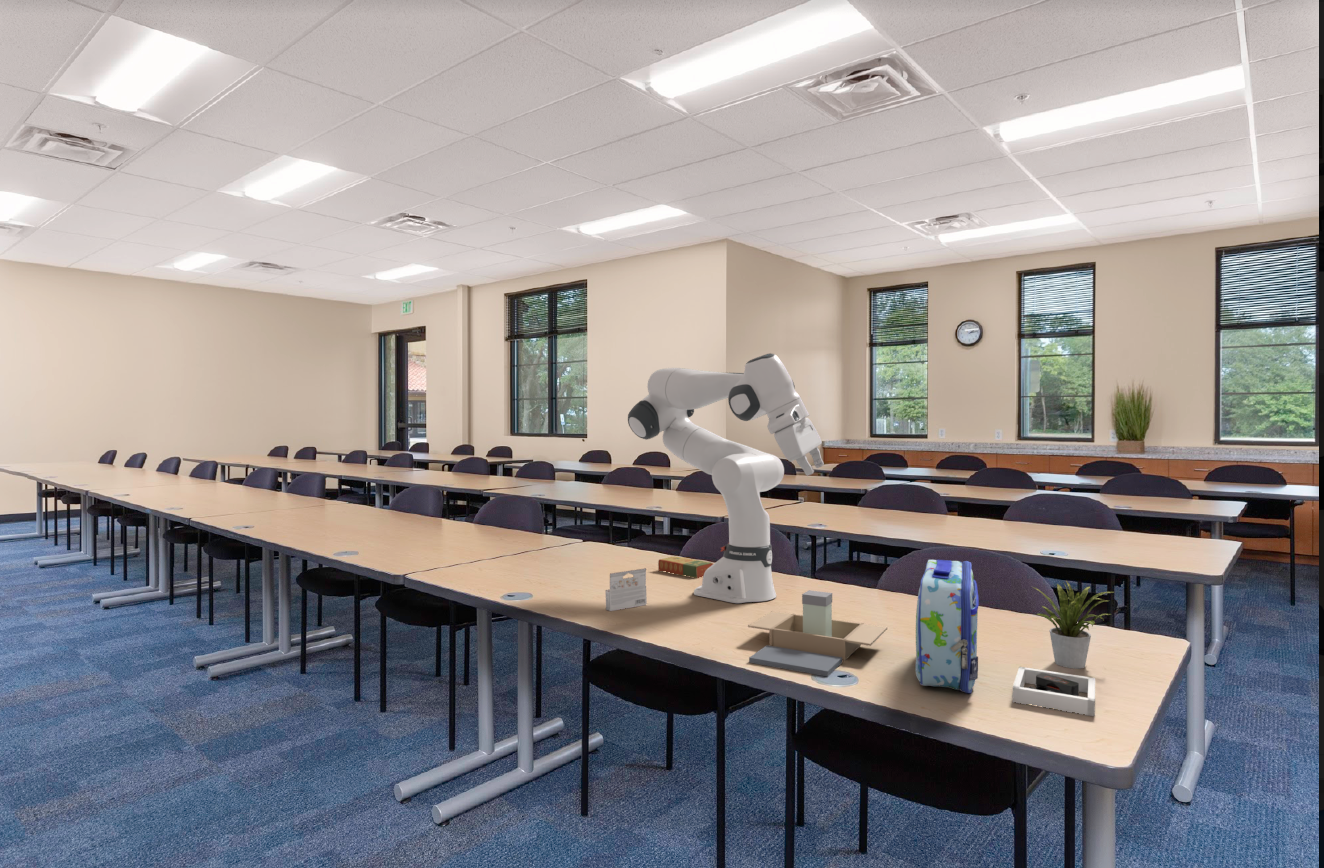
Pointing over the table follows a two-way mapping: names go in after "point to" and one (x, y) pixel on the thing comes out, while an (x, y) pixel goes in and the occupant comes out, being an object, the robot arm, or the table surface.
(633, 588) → the ink cartridge box
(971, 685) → the lunch box
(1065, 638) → the house plant
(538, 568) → the table surface
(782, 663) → the slate mat
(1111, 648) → the table surface
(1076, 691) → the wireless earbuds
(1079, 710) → the dish
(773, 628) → the open cardboard box
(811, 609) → the block
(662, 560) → the carton
